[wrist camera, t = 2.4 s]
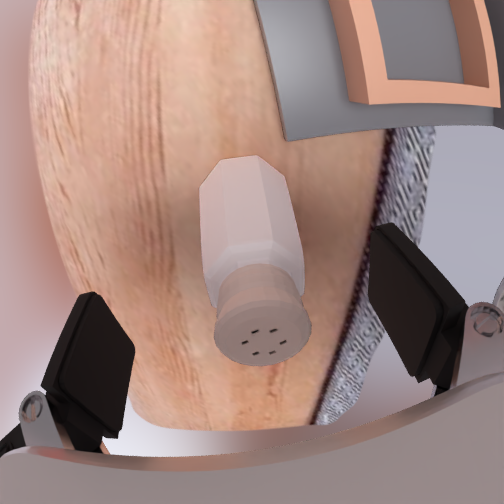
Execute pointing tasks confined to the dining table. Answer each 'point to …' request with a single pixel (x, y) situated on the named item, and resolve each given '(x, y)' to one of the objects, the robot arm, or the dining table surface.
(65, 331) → the robot arm
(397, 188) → the dining table surface
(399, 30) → the gray walled base stand
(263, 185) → the salt shaker
